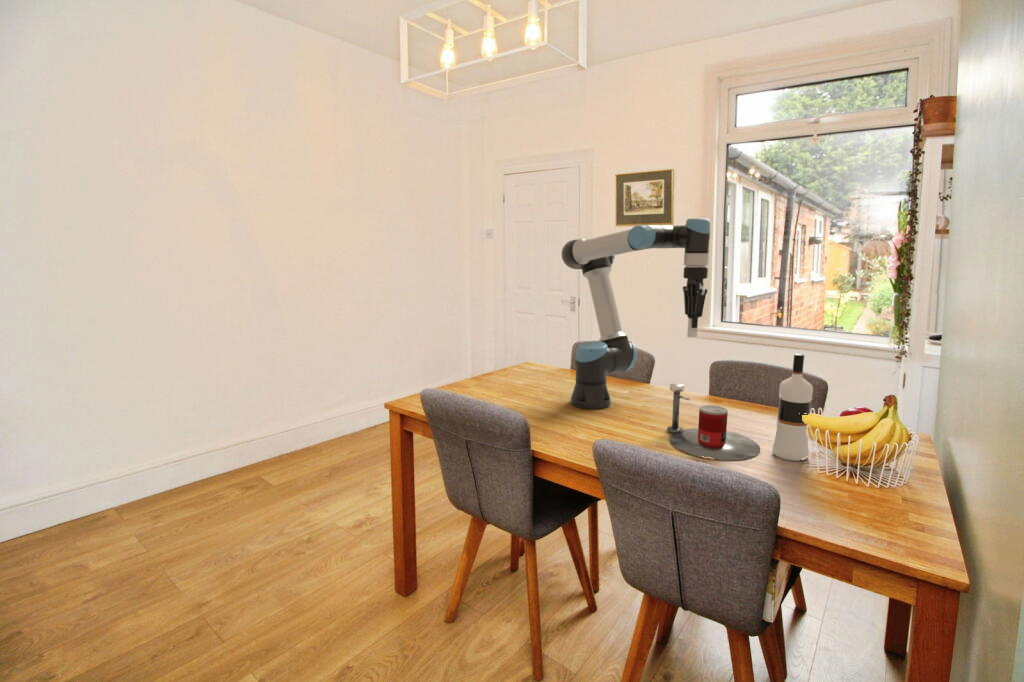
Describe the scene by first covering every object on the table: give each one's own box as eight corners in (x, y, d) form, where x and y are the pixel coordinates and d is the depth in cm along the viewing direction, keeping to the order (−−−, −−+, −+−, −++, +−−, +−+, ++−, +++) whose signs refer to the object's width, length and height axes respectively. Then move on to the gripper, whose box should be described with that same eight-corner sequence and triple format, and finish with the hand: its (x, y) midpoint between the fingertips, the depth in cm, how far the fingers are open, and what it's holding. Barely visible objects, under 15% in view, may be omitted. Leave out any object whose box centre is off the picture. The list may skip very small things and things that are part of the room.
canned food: (727, 449, 158) (730, 413, 156) (699, 447, 159) (701, 412, 157) (723, 439, 165) (725, 405, 163) (696, 438, 167) (697, 404, 165)
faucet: (663, 430, 174) (665, 384, 171) (673, 427, 177) (675, 382, 174) (682, 436, 169) (684, 389, 166) (691, 433, 172) (694, 386, 169)
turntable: (656, 431, 174) (656, 430, 174) (731, 427, 177) (731, 426, 177) (692, 463, 148) (692, 462, 148) (779, 457, 152) (779, 456, 152)
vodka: (766, 455, 153) (775, 354, 148) (779, 447, 160) (788, 349, 154) (800, 465, 147) (811, 359, 141) (813, 456, 153) (823, 354, 147)
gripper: (716, 267, 169) (712, 340, 173) (697, 265, 182) (693, 333, 186) (694, 267, 168) (690, 340, 172) (676, 265, 181) (673, 334, 185)
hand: (692, 336), depth 179 cm, fingers closed
